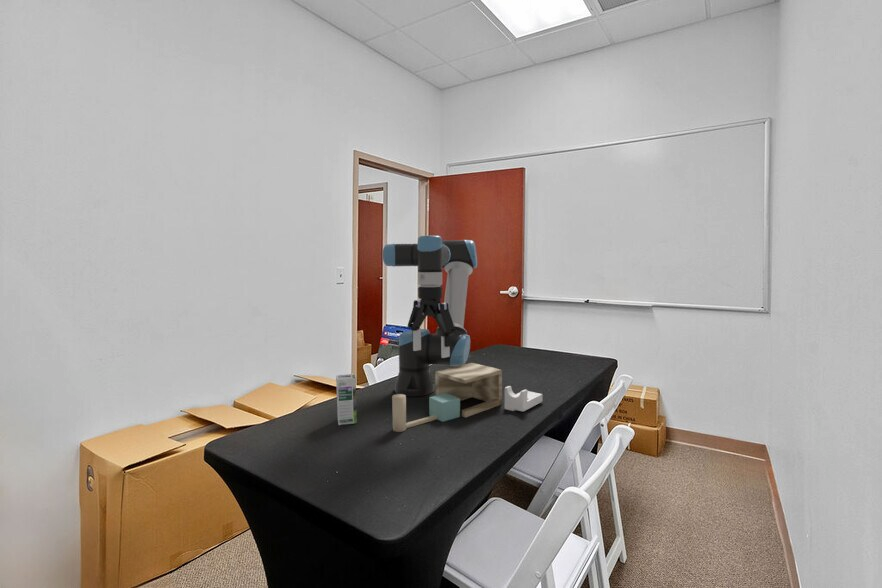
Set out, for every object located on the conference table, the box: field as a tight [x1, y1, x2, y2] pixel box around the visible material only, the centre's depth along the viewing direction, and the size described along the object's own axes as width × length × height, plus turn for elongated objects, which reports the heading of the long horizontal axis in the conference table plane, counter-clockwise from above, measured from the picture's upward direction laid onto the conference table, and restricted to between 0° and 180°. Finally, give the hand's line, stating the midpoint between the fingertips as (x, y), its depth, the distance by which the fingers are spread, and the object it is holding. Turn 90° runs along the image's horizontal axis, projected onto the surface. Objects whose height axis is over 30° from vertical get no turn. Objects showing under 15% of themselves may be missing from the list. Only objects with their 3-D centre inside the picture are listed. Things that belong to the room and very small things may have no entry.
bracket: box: [504, 385, 543, 412], centre depth 147 cm, size 13×7×8 cm, turn 139°
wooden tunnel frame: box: [434, 362, 503, 418], centre depth 148 cm, size 14×18×12 cm
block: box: [391, 393, 461, 433], centre depth 133 cm, size 7×22×10 cm, turn 128°
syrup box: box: [335, 373, 358, 426], centre depth 134 cm, size 6×6×14 cm
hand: (430, 353), depth 135 cm, fingers open, 13 cm apart
